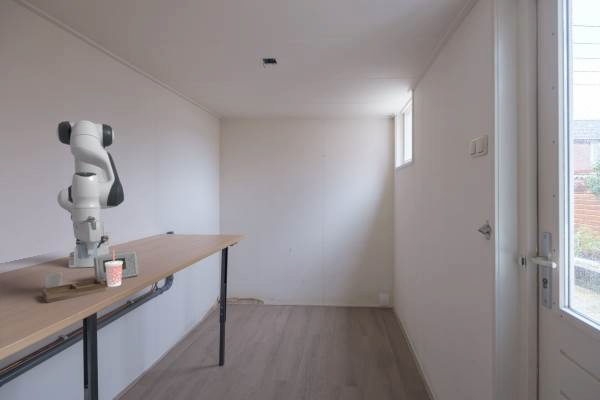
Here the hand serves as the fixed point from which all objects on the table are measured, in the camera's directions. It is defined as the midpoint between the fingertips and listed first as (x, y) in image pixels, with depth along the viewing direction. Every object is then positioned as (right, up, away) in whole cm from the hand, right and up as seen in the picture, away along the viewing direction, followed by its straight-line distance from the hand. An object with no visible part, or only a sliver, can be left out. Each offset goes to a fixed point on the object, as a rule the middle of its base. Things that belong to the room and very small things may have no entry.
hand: (87, 253), depth 114 cm
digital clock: (+1, -14, +16) cm, 21 cm away
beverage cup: (+5, -14, +7) cm, 17 cm away
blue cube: (0, -2, 0) cm, 2 cm away
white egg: (-14, -14, +2) cm, 20 cm away
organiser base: (-3, -14, -3) cm, 15 cm away
